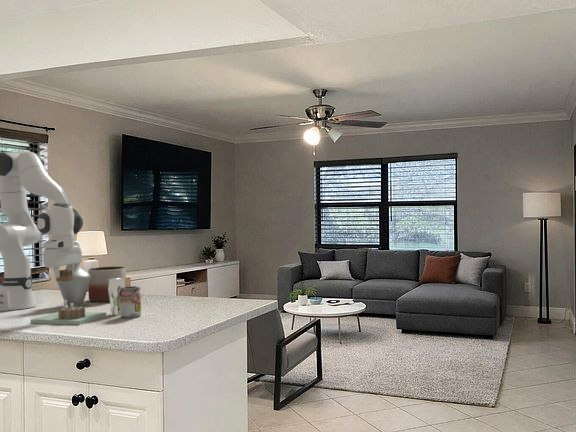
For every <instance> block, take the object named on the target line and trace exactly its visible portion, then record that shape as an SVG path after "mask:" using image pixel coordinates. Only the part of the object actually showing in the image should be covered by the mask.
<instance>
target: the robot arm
mask: <svg viewBox="0 0 576 432" xmlns="http://www.w3.org/2000/svg"><path fill="white" fill-rule="evenodd" d="M27 192H28V193H30V194H32V195H36V196H41V197H42V198H43V197H44V198H47V199H49V200H51V201H53V204H51V207H50V208H49V209H48V210H46V211H44V212H41V213H40V214H39V215H38V217H37V219H36V223H35V222H34V221H33V219H32V216H31V214H30V210H29V205H28V198H27ZM0 210H1V212H2V213H3V214H4V215H5V216H6V217H7V219H8V220H9V223H2V224H0V254H1V257H2V261H3V278H1V279H0V283H1V284H0V311H1V312H3V311H4V312H5V311H14V310H24V309H29V308H33V307H36V303H35V299H34V295H33V290H32V285H33V276H32V272H31V271H32V269H31V259H30V258H29V257H28V256H27V255H26V253H25V252H24V249H23V247H29V246H31V245H34V244H37V243H38V242H39V241H40V239H41V236H42V235H47V236H51V238H49V239H48V240H47V241H44V242H43V243H42V248H43V253H42V254H43V255H42V260H43V262H42V263H43V266H44V267H45V268H52V271H53V273H54V277H55V279H56V278H60V277H61V273H60V272H59V270H61V269H60V268H61V267H63V266H67V265H68V267H69V270H72V275H73V270H74V267H75V264H77V263H80V264H82V262H83V256H82V255H83V252H82V250H81V249H82V248H81V247H80V243H79V242H78V241H75V235H77V234H78V233H79V232H80V231H81V230H82V228H83V227H84V226H83V225H84V221H83V217H82V215H81V214H80V213H79V211H77V209H76V208H75V207H74V205H73V204H72V202H71V201H70V199H69V197H68V196H67V194H66V192H65V190H64V189H63V187H62V186H61V185H60V184H59V183H57V182H56V181H55V180H53V178H52V177H50V175H49V174H48V172H47V170H46V168H45V160H44V158H43V156H42V155H41V154H39V153H37V152H36V153H35V152H33V151H11V152H10V151H9V152H7V151H6V152H4V151H3V152H2V151H1V152H0ZM41 234H42V235H41ZM81 252H82V253H81Z"/></svg>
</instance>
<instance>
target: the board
mask: <svg viewBox="0 0 576 432" xmlns="http://www.w3.org/2000/svg"><path fill="white" fill-rule="evenodd" d="M105 316H106V317H107V312H100V311H99V312H98V311H97V312H96V311H95V312H94V311H86V307H85V306H77V307H76V306H73V303H70V307H68V306H67V302H66V300H65V301H64V300H63V305H62V308H58V311H57V312H54V313H49V314H47V315H42V316H39V317H35V318H34V317H33V318H30V324H40V325H41V324H42V325H43V324H44V325H68V324H75V326H80V324H81V325H83V323H84V324H87V323H89V322H93V321H97V320H99V319H102V318H106V317H105ZM86 322H87V323H86Z"/></svg>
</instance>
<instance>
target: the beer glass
mask: <svg viewBox="0 0 576 432" xmlns="http://www.w3.org/2000/svg"><path fill="white" fill-rule="evenodd" d="M121 287H125V278H110V279H108V294H109V299H110V302H109V304H110V311H109V315H110V316H121V311H120V298H119V297H118V293H119V291H120V289H121Z"/></svg>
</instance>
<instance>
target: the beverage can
mask: <svg viewBox="0 0 576 432" xmlns="http://www.w3.org/2000/svg"><path fill="white" fill-rule="evenodd" d="M140 290H141V287H140V286H135V285H131V286H130V285H129V286H126V287H121V289H120V291H119V293H118V297H119V298H120V311H121V315H120V317H121V318H123V319H134V318H135V319H136V318H139V317H141V315H142V300H141V297H142V296H141V292H140Z"/></svg>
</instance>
